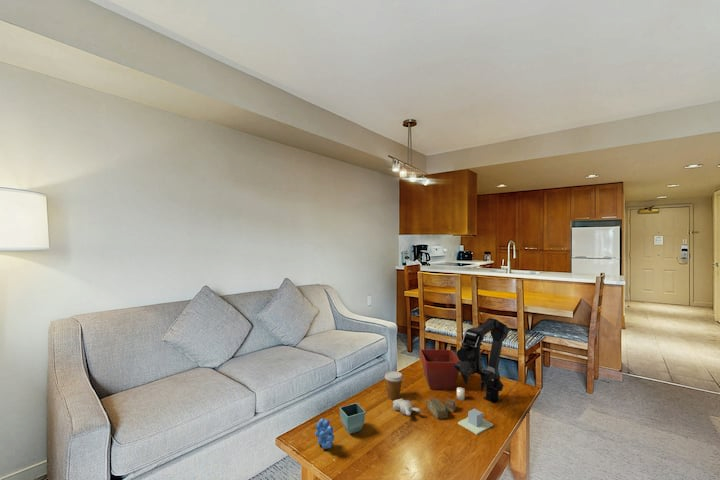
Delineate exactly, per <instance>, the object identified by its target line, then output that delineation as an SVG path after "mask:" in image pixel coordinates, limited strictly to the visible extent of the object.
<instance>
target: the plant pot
mask: <svg viewBox="0 0 720 480" xmlns="http://www.w3.org/2000/svg"><path fill="white" fill-rule="evenodd" d="M420 358H421V363H422V369H423V373H424V377H425V380H426V382H427V385H428V387H429V389H430V390H446V391H447V390H448V391H449V390H454V389H455V388H454V387H455V385H456V383H457V380H458V377H459V373H460V372H459V371H457V369H455V363H456V362H459V361H460V360H459V359H458V357H457V354H456V353H455V352H454V350H452V349H420Z"/></svg>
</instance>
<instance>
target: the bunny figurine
mask: <svg viewBox="0 0 720 480" xmlns="http://www.w3.org/2000/svg"><path fill="white" fill-rule="evenodd" d="M392 408H393V410H394V411H399V412H400V413H401V414H402V415H405V416H407V417H409V416H411V414H412V412H417V413H421V412H422V411H421V409H420V408H419V407H414V406H413V403H412V402H411V401H410V400H409V399H404V398H403V397H402V398H399V399H397V400H393V401H392Z"/></svg>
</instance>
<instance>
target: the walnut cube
mask: <svg viewBox="0 0 720 480" xmlns="http://www.w3.org/2000/svg"><path fill="white" fill-rule="evenodd" d="M456 405H457V402H456V400H453V399H450V398H447V399H446V400H445V401H444V406H445V407H446V408H447V410H448V412H451V413H454V412H455V410H456V409H457V407H456Z"/></svg>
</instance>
